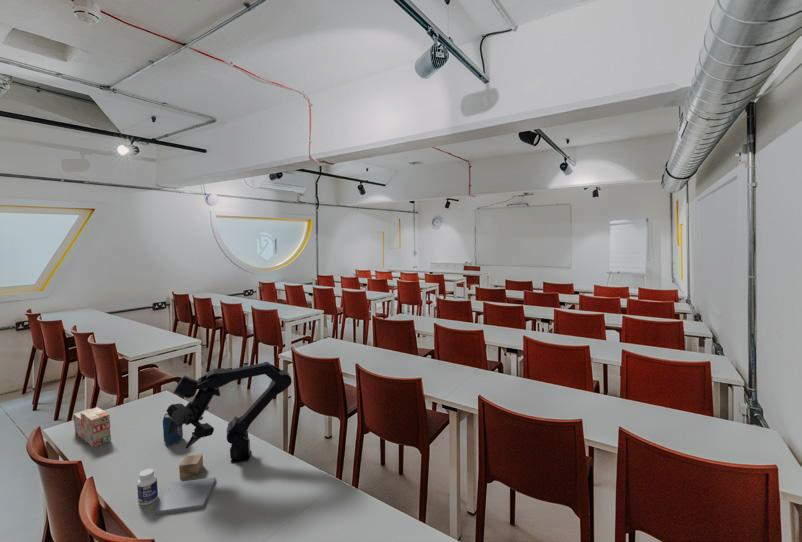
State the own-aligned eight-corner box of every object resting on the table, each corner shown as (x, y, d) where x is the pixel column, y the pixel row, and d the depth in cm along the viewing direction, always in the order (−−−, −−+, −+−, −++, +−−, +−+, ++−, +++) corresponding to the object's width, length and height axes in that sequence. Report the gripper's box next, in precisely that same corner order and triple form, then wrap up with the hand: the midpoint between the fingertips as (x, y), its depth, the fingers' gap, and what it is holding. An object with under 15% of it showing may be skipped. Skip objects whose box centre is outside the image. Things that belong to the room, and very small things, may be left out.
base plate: (215, 480, 132) (215, 477, 132) (203, 508, 119) (202, 504, 118) (172, 485, 129) (172, 482, 129) (154, 515, 116) (154, 511, 116)
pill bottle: (143, 508, 119) (141, 479, 118) (135, 501, 122) (133, 473, 121) (161, 498, 123) (159, 470, 123) (153, 492, 126) (151, 465, 125)
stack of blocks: (74, 433, 165) (72, 407, 164) (91, 427, 170) (89, 401, 169) (93, 448, 153) (91, 419, 152) (111, 441, 159) (109, 413, 158)
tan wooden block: (203, 466, 141) (202, 454, 140) (197, 476, 135) (197, 463, 134) (185, 468, 139) (185, 456, 139) (179, 478, 133) (179, 465, 133)
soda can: (183, 442, 157) (182, 414, 156) (164, 447, 154) (162, 419, 152) (182, 435, 163) (180, 408, 162) (163, 439, 159) (162, 413, 158)
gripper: (166, 390, 134) (142, 431, 131) (203, 417, 128) (178, 460, 126) (189, 389, 144) (167, 426, 142) (224, 414, 139) (201, 453, 136)
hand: (178, 441), depth 136 cm, fingers open, 9 cm apart
